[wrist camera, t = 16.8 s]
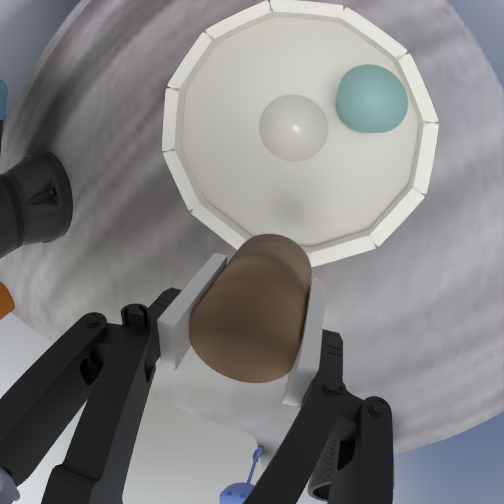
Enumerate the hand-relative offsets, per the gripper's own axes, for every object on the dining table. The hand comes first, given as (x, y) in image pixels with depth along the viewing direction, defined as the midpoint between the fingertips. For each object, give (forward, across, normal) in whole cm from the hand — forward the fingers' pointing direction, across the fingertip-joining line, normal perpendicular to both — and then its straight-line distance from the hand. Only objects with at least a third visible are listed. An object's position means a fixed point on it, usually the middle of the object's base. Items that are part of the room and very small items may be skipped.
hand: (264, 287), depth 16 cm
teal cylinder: (+13, +4, +12) cm, 19 cm away
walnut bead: (+2, 0, 0) cm, 2 cm away
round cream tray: (+14, -1, +9) cm, 17 cm away
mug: (+15, -74, -40) cm, 85 cm away
